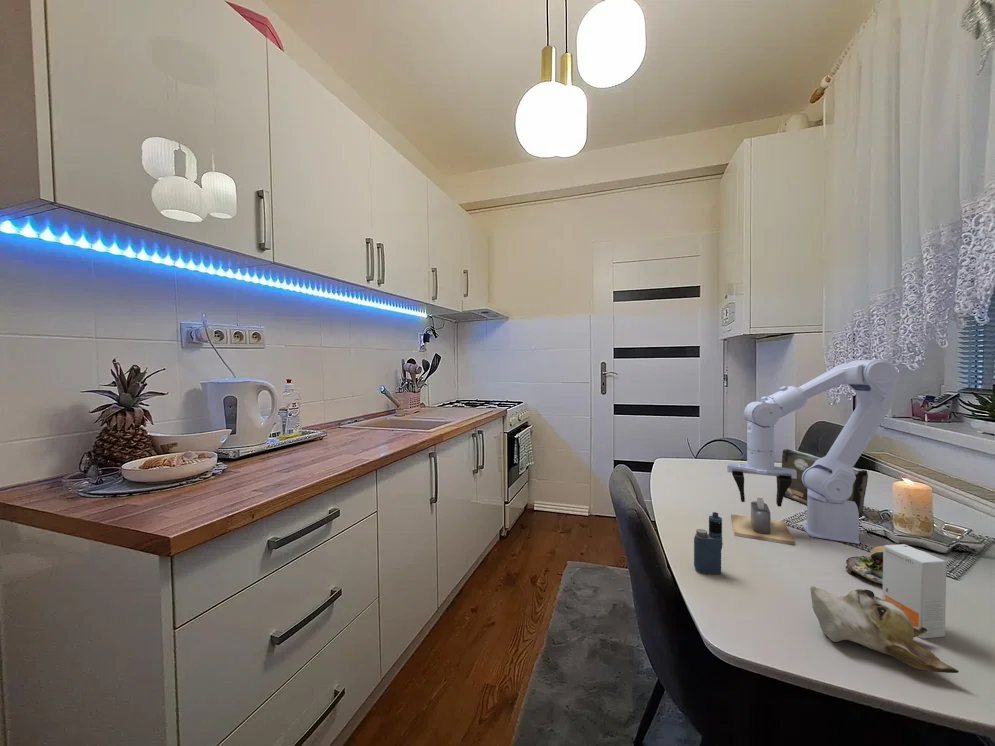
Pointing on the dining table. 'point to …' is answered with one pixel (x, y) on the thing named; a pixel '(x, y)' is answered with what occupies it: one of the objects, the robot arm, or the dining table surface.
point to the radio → (804, 461)
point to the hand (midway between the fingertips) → (760, 503)
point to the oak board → (777, 534)
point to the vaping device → (709, 547)
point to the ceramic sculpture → (873, 626)
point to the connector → (760, 516)
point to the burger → (868, 565)
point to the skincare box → (916, 586)
